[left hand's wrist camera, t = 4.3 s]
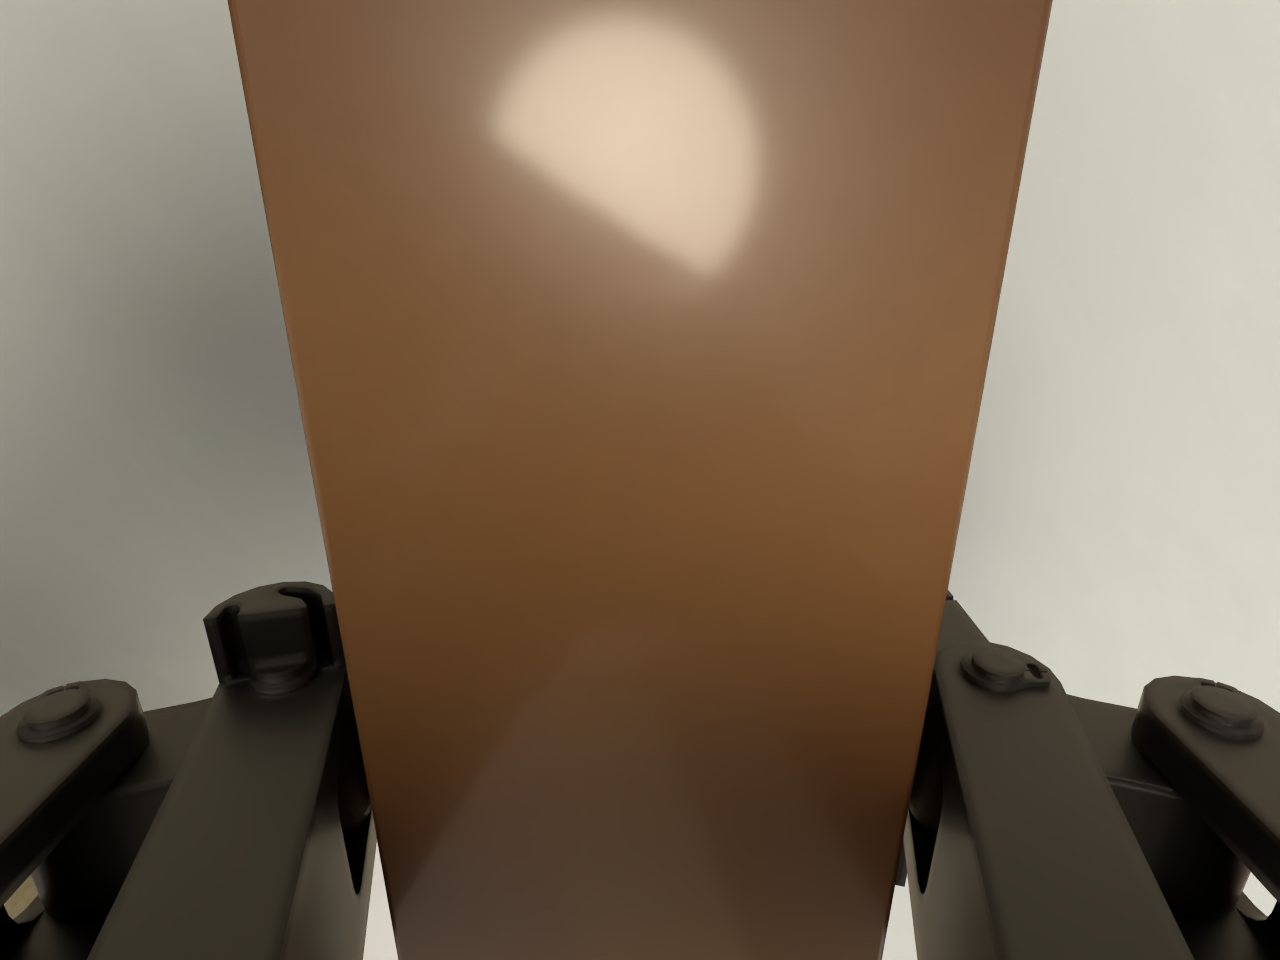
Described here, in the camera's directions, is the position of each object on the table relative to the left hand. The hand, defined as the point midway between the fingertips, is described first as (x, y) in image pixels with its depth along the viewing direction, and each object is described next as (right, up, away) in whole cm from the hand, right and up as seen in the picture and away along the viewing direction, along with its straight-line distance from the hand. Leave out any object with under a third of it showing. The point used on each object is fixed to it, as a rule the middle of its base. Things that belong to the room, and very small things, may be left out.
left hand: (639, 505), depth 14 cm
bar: (0, +7, -2) cm, 7 cm away
